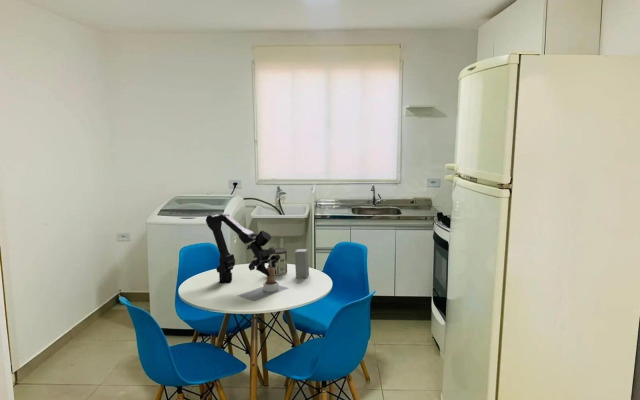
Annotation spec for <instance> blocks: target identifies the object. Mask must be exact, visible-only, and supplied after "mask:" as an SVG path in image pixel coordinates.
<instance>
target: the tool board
mask: <svg viewBox="0 0 640 400" xmlns="http://www.w3.org/2000/svg"><path fill="white" fill-rule="evenodd" d="M279 283H280V282H279V281H278V280H275V284H274V285H268V284H267V280H266V281H263V284H262V285H263V286H261V287H258V288H254V289H252V290H248V291H247V292H243V293H240V294H238V295H236V296H237V297H238V298H239V297H240V298H243V299H246V300H249V301H251V302H256V301H259V300H261V299H264V298H267V297H270V296H272V295H274V294H275V295H276V294H278V293H281V292H283V291H285V290H288V289H289V287H287V286H284V285H283V286H282V285H280V284H279Z"/></svg>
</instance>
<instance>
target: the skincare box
mask: <svg viewBox="0 0 640 400" xmlns="http://www.w3.org/2000/svg"><path fill="white" fill-rule="evenodd" d="M294 265H295V267H294V268H295V279H298V278H300V279H301V278H302V279H307V278H308V277H309V275H310V270H309V269H310V267H309V266H310V265H309V249H308V248H298V249H296V250H295V251H294Z"/></svg>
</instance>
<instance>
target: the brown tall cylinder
mask: <svg viewBox="0 0 640 400" xmlns="http://www.w3.org/2000/svg"><path fill="white" fill-rule="evenodd" d="M266 269H267V271H268V272H269V275H270V276H269V277H268V276H267V275H266V281H267V284H268V285H274V284H275V281H276V275H275V268H274V267H272V264H271V262H270V267H268V266H267V267H266Z"/></svg>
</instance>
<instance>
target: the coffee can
mask: <svg viewBox="0 0 640 400" xmlns="http://www.w3.org/2000/svg"><path fill="white" fill-rule="evenodd" d="M274 249H275V252H274V254H271V255H270V257H269V259H270V258H271V257H272V256H273V255H276V254H279V256H280V257H281V258H280V259H279V260H278V261H277V263H275V268H276V274H275V276H283V275H286V274H288V258H287V255H288V253H287V251H288V249H286V248H282V247H281V248H280V247H279V248H274Z"/></svg>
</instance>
